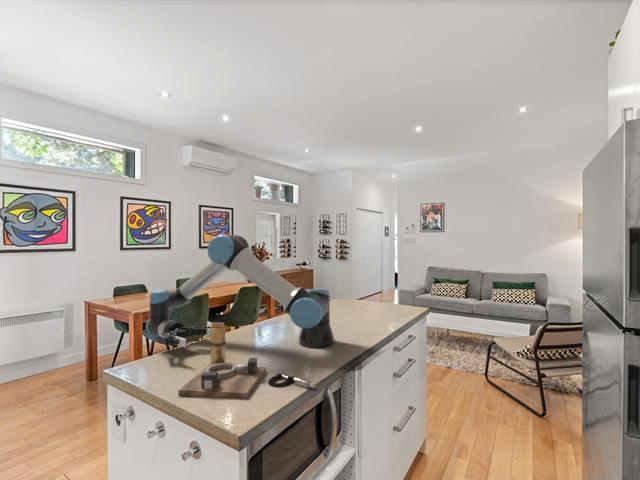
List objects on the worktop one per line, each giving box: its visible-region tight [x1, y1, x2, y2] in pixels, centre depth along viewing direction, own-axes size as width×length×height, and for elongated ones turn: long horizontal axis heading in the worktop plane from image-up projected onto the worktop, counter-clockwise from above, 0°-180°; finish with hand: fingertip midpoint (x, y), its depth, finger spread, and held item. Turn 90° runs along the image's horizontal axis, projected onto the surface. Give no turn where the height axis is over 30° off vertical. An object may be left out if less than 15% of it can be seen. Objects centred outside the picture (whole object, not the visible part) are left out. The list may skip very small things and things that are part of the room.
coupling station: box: [177, 357, 267, 399], centre depth 101 cm, size 20×19×5 cm
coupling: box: [209, 322, 227, 365], centre depth 117 cm, size 5×5×15 cm
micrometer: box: [267, 373, 316, 390], centre depth 98 cm, size 15×7×2 cm, turn 52°
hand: (202, 338), depth 122 cm, fingers open, 13 cm apart
